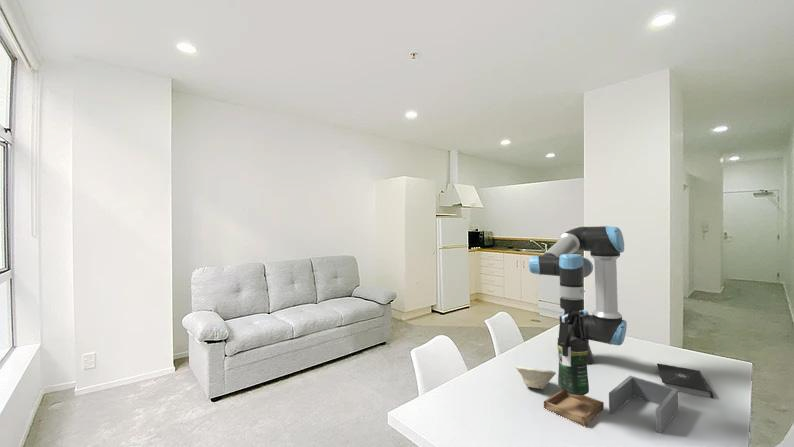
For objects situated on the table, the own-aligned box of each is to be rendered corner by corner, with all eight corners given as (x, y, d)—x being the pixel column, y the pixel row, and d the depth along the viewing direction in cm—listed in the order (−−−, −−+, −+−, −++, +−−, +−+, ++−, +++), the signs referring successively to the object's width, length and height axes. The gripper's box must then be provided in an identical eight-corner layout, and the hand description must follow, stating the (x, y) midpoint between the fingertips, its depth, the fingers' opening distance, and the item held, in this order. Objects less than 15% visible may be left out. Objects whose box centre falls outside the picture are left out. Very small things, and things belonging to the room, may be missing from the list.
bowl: (555, 383, 136) (555, 359, 136) (556, 399, 124) (555, 372, 124) (517, 376, 143) (517, 353, 143) (514, 391, 130) (513, 366, 130)
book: (713, 400, 123) (713, 392, 123) (662, 389, 131) (662, 382, 131) (700, 377, 141) (700, 370, 141) (656, 369, 149) (656, 363, 149)
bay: (609, 413, 114) (608, 392, 114) (630, 393, 127) (630, 375, 127) (661, 433, 103) (660, 410, 103) (678, 409, 116) (678, 389, 116)
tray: (543, 409, 117) (543, 401, 117) (564, 394, 127) (564, 387, 127) (584, 426, 106) (584, 418, 106) (603, 410, 116) (603, 402, 116)
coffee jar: (593, 394, 113) (592, 340, 113) (574, 398, 111) (573, 342, 111) (572, 382, 122) (571, 332, 123) (554, 384, 120) (553, 333, 121)
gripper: (568, 304, 108) (569, 373, 107) (595, 295, 121) (596, 357, 120) (546, 300, 113) (547, 366, 113) (574, 292, 127) (575, 351, 126)
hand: (572, 361), depth 117 cm, fingers closed on coffee jar, 9 cm apart
